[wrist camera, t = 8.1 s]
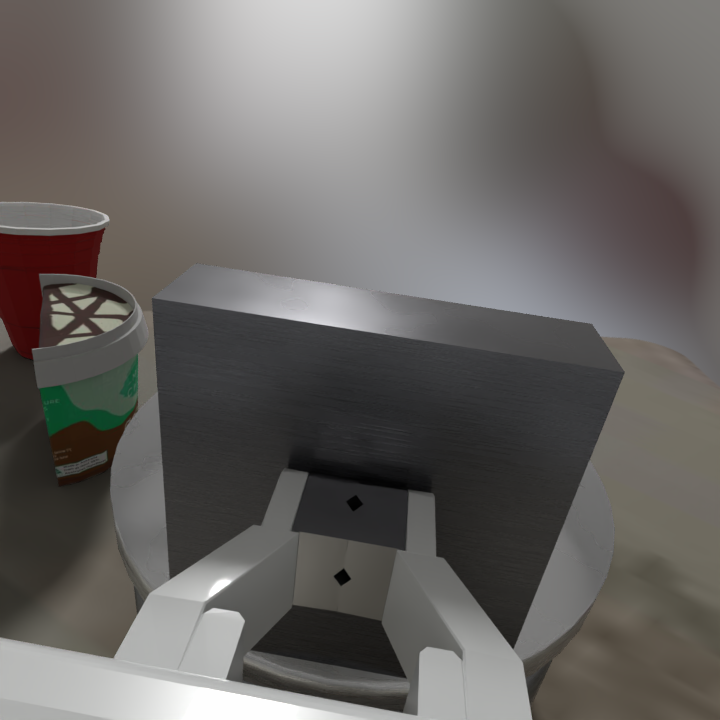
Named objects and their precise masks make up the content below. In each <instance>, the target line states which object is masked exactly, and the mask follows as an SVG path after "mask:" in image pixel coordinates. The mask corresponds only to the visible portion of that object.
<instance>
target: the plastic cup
mask: <svg viewBox="0 0 720 720" xmlns="http://www.w3.org/2000/svg"><path fill="white" fill-rule="evenodd" d="M109 221H110V220H109V217H108V215H105V214H103V213H100V212H98V211H95V210H91V209H86V208H81V207H76V206H67V205H59V204H50V203H31V202H0V318H1V319H2V320H3V322H4V325H5V327H6V330H7V332H8V335H9V337H10V340H11V342H12V344H13V346H14V347H15V348H16V350H17V352H18V353H19V354H20V355H21V356H23V357H26V358H29V359H32V360H34V359H33V353H32V349H36V348H39V336H40V313H41V308H42V299H43V297H42V291H41V284H40V278H39V274H68V275H79V276H86V277H92V278H96V275H97V263H98V255H99V252H100V243H101V242H102V235H103V233H104V230H105V227H107V226H108V225H109Z"/></svg>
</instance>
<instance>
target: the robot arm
mask: <svg viewBox="0 0 720 720" xmlns="http://www.w3.org/2000/svg"><path fill="white" fill-rule="evenodd" d="M292 605H298V606H305V607H311V608H318V609H325V610H331V611H337V612H342V613H347V614H352V615H356V616H361V617H366V618H371V619H376V620H380V621H382V625H383V627H384V630H385V632H386V634H387V636H388V638H389V640H390V642H391V645H392V647H393V649H394V651H395V653H396V655H397V658H398V660H399V662H400V664H401V666H402V668H403V671H404V673H405V675H406V677H407V679H408V681H409V684H410V689H409V692H408V696H407V699H406V703H405V706H404V710H403V713H400V712H395V711H389V710H384V709H379V708H373V707H368V706H363V705H357V704H352V703H347V702H341V701H336V700H331V699H325V698H320V697H315V696H309V695H304V694H299V693H293V692H288V691H283V690H277V689H272V688H267V687H262V686H256V685H251V684H246V683H242V681H243V657H244V656H245V655H246V654H247V653H248V652H249V651H250V650H251V649H252V648H253V647H254V645H255V644H256V643H257V642H258V641H259V640H260V639H261V638H262V637H263V636H264V635H265V634H266V633H267V632H268V631H269V630H270V629H271V628H272V627H273V626H274V625H275V624H276V623H277V622H278V621H279V620H280V619H281V618H282V617H283V616H284V615H285V614H286V613H287V612H288V611H289V610H290V609H291V608H292ZM337 608H338V610H337ZM0 720H532V715H531V709H530V703H529V697H528V691H527V685H526V679H525V673H524V667H523V662H522V661H521V659H520V658H519V657H518V655H517V654H516V653H515V652H514V650H513V649H512V648H511V646H510V645H509V644H508V642H507V641H506V640H505V638H504V637H503V636H502V634H501V633H500V632H499V630H498V629H497V628H496V626H495V625H494V624H493V622H492V621H491V620H490V618H489V617H488V616H487V614H486V613H485V612H484V610H483V609H482V608H481V607H480V605H479V604H478V603H477V601H476V600H475V599H474V597H473V596H472V595H471V593H470V592H469V591H468V589H467V588H466V587H465V585H464V584H463V583H462V581H461V580H460V579H459V577H458V576H457V575H456V573H455V572H454V571H453V569H452V568H451V567H450V565H449V564H448V563H447V562H446V560H445V559H444V558H441V557H436V524H435V496H434V494H433V493H429V492H422V491H415V490H408V491H407V490H405V489H399V488H392V487H386V486H380V485H374V484H368V483H362V482H357V481H352V480H347V479H341V478H336V477H331V476H326V475H321V474H316V473H311V472H310V473H308V472H303V471H298V470H293V469H287V468H284V470H283V471H282V472H281V474H280V477H279V479H278V482H277V485H276V487H275V490H274V493H273V495H272V498H271V501H270V503H269V506H268V509H267V511H266V514H265V517H264V519H263V522H262V525H261V526H258V525H252V526H251V527H249V528H248V529H246V530H245V531H243V532H242V533H240V534H239V535H237V536H236V537H234V538H233V539H231V540H230V541H228V542H227V543H225V544H224V545H222V546H221V547H219V548H218V549H216V550H214V551H213V552H211V553H210V554H208V555H207V556H205V557H204V558H202V559H201V560H199V561H198V562H196V563H195V564H193V565H192V566H190V567H189V568H187V569H186V570H184V571H183V572H181V573H180V574H178V575H177V576H175V577H174V578H172V579H171V580H169V581H168V582H166V583H164V584H163V585H161V586H160V587H158V588H157V589H155V590H154V591H152V592H151V593H149V595H148V597H147V599H146V601H145V602H144V604H143V606H142V608H141V610H140V611H139V613H138V615H137V617H136V619H135V620H134V622H133V624H132V626H131V628H130V630H129V631H128V633H127V635H126V637H125V639H124V640H123V642H122V644H121V646H120V648H119V650H118V651H117V653H116V655H115V657H114V659H112V658H107V657H102V656H96V655H91V654H86V653H80V652H75V651H70V650H64V649H59V648H54V647H48V646H43V645H38V644H32V643H27V642H22V641H16V640H11V639H5V638H0Z"/></svg>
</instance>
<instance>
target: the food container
mask: <svg viewBox="0 0 720 720" xmlns="http://www.w3.org/2000/svg"><path fill="white" fill-rule="evenodd" d="M39 278H40V284H41V291H42V297H43V299H42V308H41V313H40V336H39V348H36V349H32V353H33V359H34V368H35V375H36V381H37V388H39V389H40V394H41V399H42V404H43V409H44V414H45V419H46V425H47V430H48V435H49V440H50V445H51V450H52V455H53V460H54V465H55V470H56V475H57V480H58V485H59V486H64V485H68V484H72V483H77V482H80V481H83V480H85V479H88V478H90V477H93V476H95V475H98V474H100V473H103V472H105V471H106V470H108V469H109V468H111V466H112V463H113V459H114V455H115V452H116V448H117V445H118V443H119V441H120V439H121V437H122V435H123V433H124V431H125V429H126V427H127V425H128V424H129V422H130V421H131V420H132V418H133V417H134V416H135V414H136V413H137V412H138V352H140V351H141V350H142V348H143V347H144V345H145V344H146V342H147V339H148V336H149V335H148V328H147V325H146V322H145V319H144V316H143V312H142V310H141V308H140V306H139V304H138V303H137V302H136V300H135V298H134V296H133V295H132V294H131V293H130V292H129V291H128V290H126V289H125V288H123V287H121V286H119V285H117V284H114V283H111V282H108V281H105V280H101V279H97V278H92V277H86V276H79V275H68V274H39Z"/></svg>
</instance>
